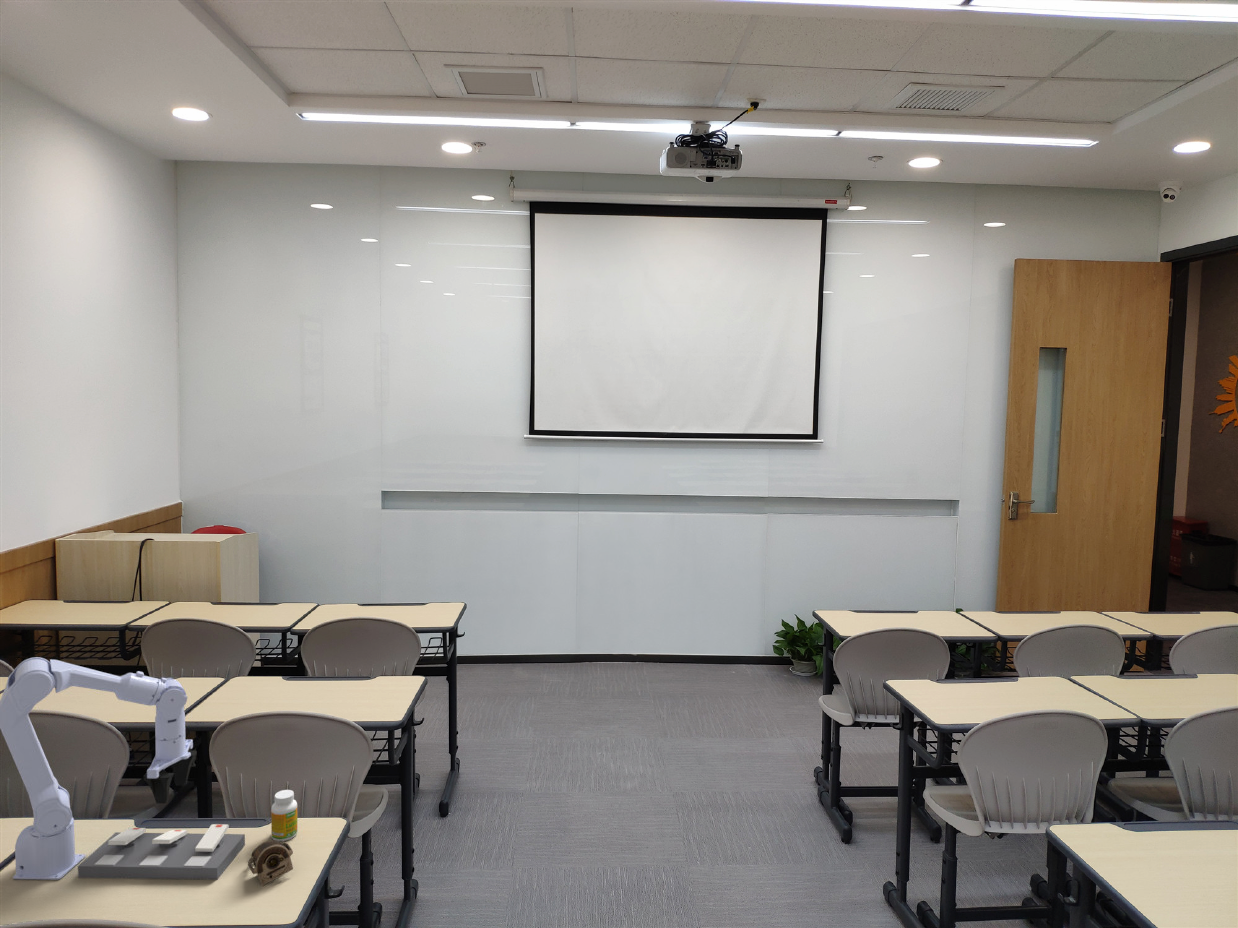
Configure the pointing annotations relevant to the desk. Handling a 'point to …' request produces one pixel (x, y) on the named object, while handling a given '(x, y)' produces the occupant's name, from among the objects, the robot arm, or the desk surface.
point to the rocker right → (212, 838)
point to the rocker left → (126, 836)
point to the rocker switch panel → (161, 858)
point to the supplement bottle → (284, 816)
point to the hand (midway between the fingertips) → (171, 793)
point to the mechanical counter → (271, 861)
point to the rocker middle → (169, 837)
